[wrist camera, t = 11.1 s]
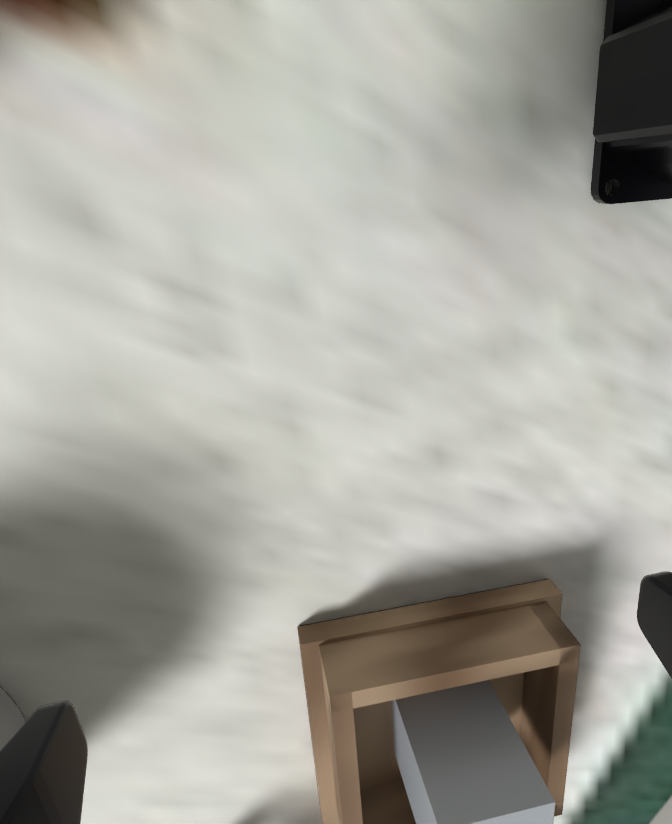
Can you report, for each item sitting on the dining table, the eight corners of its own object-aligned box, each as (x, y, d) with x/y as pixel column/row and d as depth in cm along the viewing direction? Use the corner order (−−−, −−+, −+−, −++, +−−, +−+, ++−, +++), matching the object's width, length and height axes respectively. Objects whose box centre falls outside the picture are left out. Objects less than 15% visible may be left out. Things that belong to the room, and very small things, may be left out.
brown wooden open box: (549, 579, 25) (642, 689, 19) (531, 810, 30) (599, 947, 25) (297, 626, 23) (320, 761, 18) (327, 861, 29) (351, 1019, 23)
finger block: (480, 664, 25) (555, 802, 19) (479, 739, 26) (547, 885, 21) (390, 684, 24) (439, 831, 19) (394, 759, 26) (441, 914, 20)
